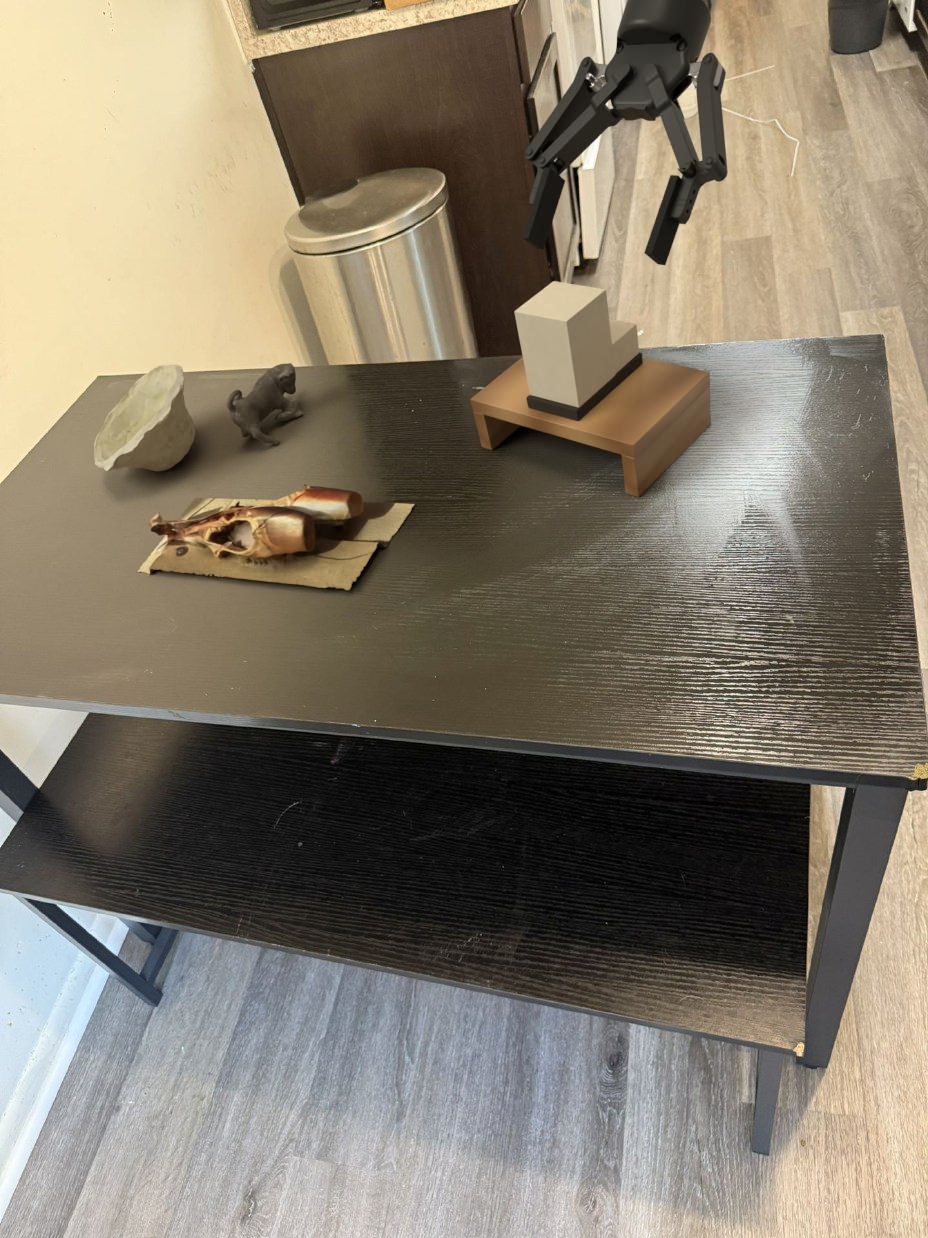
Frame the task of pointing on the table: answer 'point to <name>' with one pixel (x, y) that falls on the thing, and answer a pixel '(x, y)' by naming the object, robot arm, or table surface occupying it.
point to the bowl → (147, 424)
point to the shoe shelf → (610, 417)
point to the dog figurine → (265, 402)
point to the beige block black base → (573, 349)
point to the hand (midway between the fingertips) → (590, 251)
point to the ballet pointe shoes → (278, 537)
